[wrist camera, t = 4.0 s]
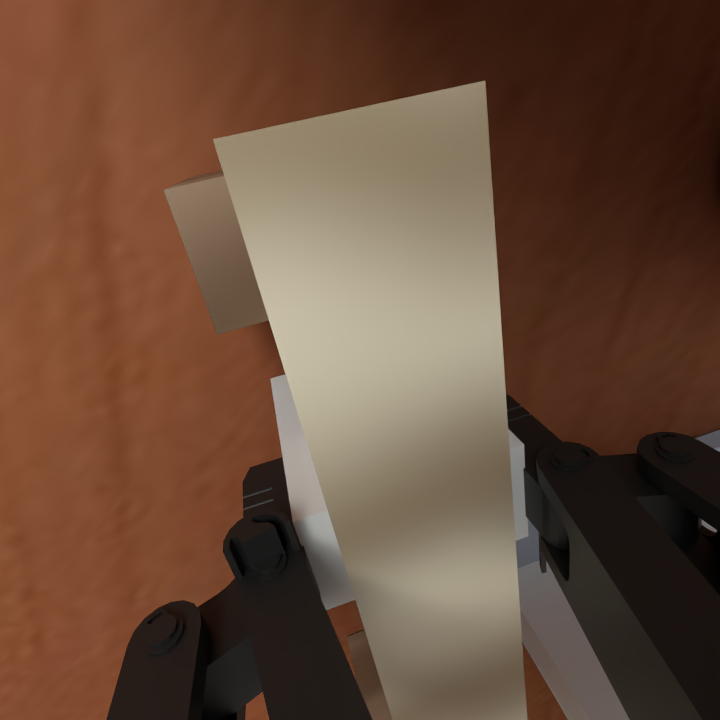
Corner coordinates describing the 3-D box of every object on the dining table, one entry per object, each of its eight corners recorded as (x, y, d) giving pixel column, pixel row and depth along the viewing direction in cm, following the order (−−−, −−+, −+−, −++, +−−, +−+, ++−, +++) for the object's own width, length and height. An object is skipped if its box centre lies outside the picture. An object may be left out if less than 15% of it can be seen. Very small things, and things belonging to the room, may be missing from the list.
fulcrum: (455, 523, 22) (561, 700, 15) (722, 428, 24) (929, 544, 17) (471, 638, 26) (561, 822, 19) (699, 549, 28) (858, 684, 21)
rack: (190, 178, 13) (163, 190, 9) (383, 134, 14) (460, 122, 9) (358, 671, 24) (388, 799, 20) (462, 630, 25) (516, 744, 20)
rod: (221, 146, 8) (212, 139, 5) (398, 106, 9) (485, 80, 6) (417, 792, 20) (451, 910, 17) (491, 761, 20) (537, 869, 17)
